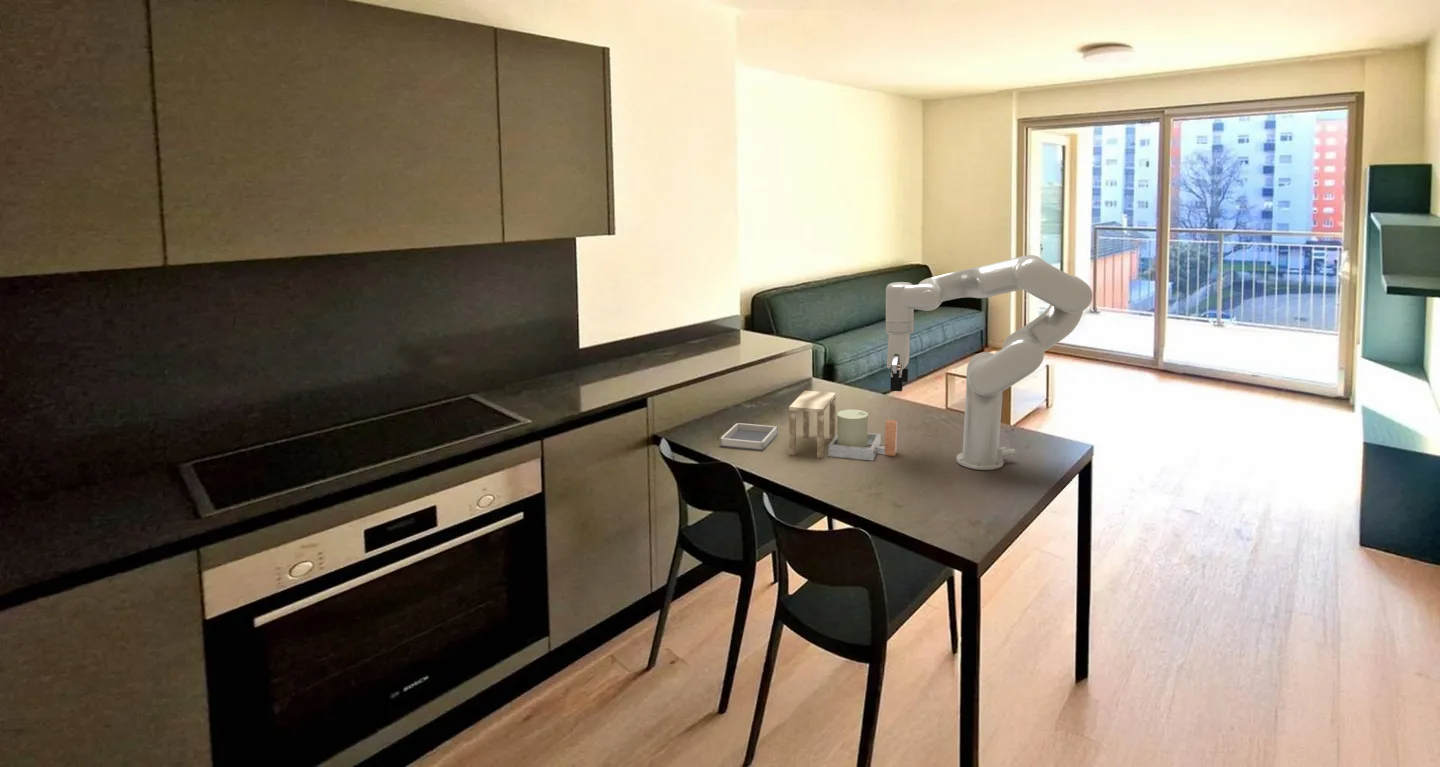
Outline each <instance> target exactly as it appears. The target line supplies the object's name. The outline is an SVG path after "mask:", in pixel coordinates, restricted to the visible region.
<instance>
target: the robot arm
mask: <svg viewBox="0 0 1440 767" xmlns="http://www.w3.org/2000/svg"><path fill="white" fill-rule="evenodd" d="M1022 290H1023V291H1025V292H1027V293H1028V294H1030V295H1032V296H1033V297H1035V298H1037V299H1039V300H1041V301H1043V302H1044V303H1047V305H1049V306H1048V307H1047V309H1046V310H1045V311H1043V313H1041V314H1040V315H1038V317H1035V319H1033V320H1032V321H1030V322H1028V323H1027V324H1026V325H1024V326H1022V327H1021V328H1019V329H1018V330H1016V331H1015V332H1012V333H1011V334H1010V335H1008V336H1007V337H1006V338H1005V339H1004V341H1003V343H1002V348H1001V349H999V350H998V351H997V352H995V353H992V352H987V351H986V352H984V351H983V352H979V353H977V354H975V355H973V356H972V357H971V359H970V360H969V362H968V363H967V366H966V376H965V378H966V379H965V380H966V383H965V384H966V387H965V389H966V390H965V408H964V422H963V438H962V439H963V441H962V452H960V453H958V454H957V455H956V463H957V464H959V465H961V467H964V468H968V469H972V470H978V471H979V470H980V471H990V470H991V471H992V470H998V469H1000V468H1002V467H1003V466H1004V459H1003V458H1005V457H1006V456H1007V457H1008V456H1009V457H1010V456H1011V457H1013V456H1016V450H1015V448H1007V447H1006V446H1002V447H1001V446H1000V434H1001V421H1002V420H1001V419H1002V409H1003V408H1002V406H1003V392H1004V391H1005V390H1007V389H1009V388H1011V387H1012V386H1014V385H1016V384H1017V383H1018V382H1020V381H1021V380H1024V379H1025V378H1027V377H1028V376H1030V375H1031V374H1032V373H1034V372H1035V371H1036V370H1037V369H1038V368H1040V366H1041V365H1042V363H1043V361H1044V359H1045V352H1047V351H1049V350H1050V349H1051V348H1053V347H1054V346H1056V344H1058V343H1060V342H1061V341H1062V340H1063V339H1065V338H1066V337H1068V336H1069V335H1070V334H1071V333H1072V332H1074V330H1075V328H1076V327H1077V326H1078V325H1079V322H1080V320H1081V318H1082V316H1083V313H1084V311H1085V310H1086V309H1088V308H1089V307H1090V306H1091V304H1092V301H1093V291H1092V288H1091V287H1090V285H1089V284H1088V283H1087V282H1086V281H1084V280H1083V279H1081V277H1078V276H1075V275H1070V274H1068V273H1067V272H1065V271H1062V270H1061V269H1059V268H1058V267H1056V266H1053V265H1051V264H1050V263H1048V262H1046V261H1045V260H1044V259H1043V258H1041V257H1039V256H1037V255H1036V254H1035V255H1034V254H1027V255H1021V256H1018V257H1013V258H1009V259H1006V260H1001V261H998V262H993V263H989V264H985V265H980V266H976V267H972V268H967V269H962V270H958V271H953V272H949V273H944V274H940V275H936V276H931V277H928V278H924V279H923V280H921V281H920V282H919V283H918V284H913V283H911V282H906V281H905V282H904V281H897V282H896V281H895V282H891V283H888V284H887V285H886V287H885V333H886V334H888V340H887V355H886V357H887V358H886V360H887V361H886V368H887V369H888V370H890V369H891V370H890V372H891V373H890V391H891V392H902V391H903V383H908V381H909V379H908V378H909V368H908V364H909V361H910V349H911V348H910V347H911V346H910V341H911V340H910V337H911V336H910V335H911V334H913V333H914V322H915V321H914V319H915V318H914V316H915V315H914V313H915V312H914V310H918V311H926V312H927V311H928V312H929V311H934V310H935V309H938V308H939V306H941V304H942V303H943V302H946V301H951V300H956V299H961V298H962V299H963V298H975V299H986V298H991V297H996V296H998V295H1003V294H1008V293H1012V292H1017V291H1022Z"/></svg>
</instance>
